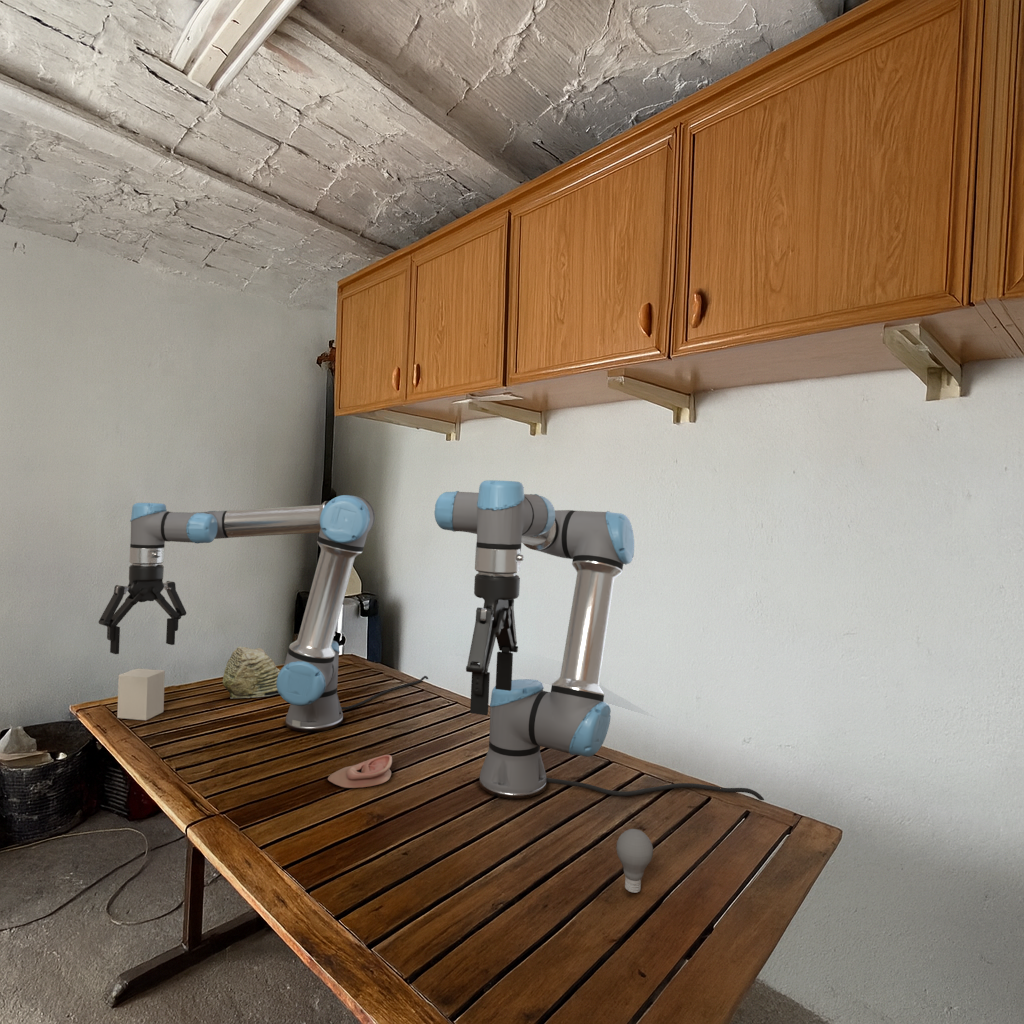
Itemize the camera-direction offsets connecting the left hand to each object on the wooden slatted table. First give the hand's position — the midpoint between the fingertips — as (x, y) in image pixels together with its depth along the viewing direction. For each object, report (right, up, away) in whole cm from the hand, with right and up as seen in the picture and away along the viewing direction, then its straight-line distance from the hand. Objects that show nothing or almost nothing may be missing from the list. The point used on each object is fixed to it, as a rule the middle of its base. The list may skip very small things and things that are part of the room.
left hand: (143, 648), depth 159 cm
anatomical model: (+58, -26, -16) cm, 66 cm away
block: (-11, -22, +18) cm, 30 cm away
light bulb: (+113, -29, -53) cm, 128 cm away
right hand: (+89, +3, -54) cm, 104 cm away
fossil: (+12, -23, +39) cm, 47 cm away
